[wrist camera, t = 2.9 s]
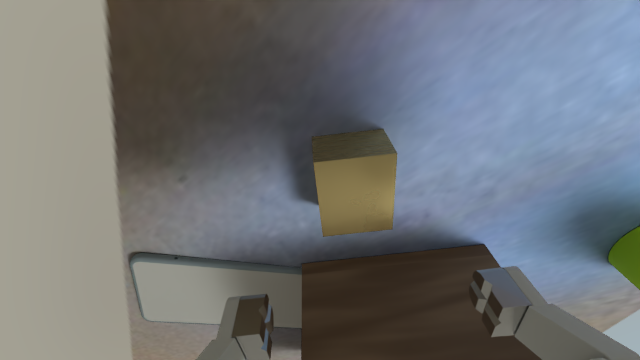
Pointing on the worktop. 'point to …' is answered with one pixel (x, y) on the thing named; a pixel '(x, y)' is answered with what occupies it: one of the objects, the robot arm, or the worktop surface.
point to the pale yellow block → (355, 181)
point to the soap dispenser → (627, 256)
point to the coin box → (400, 309)
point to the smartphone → (212, 288)
